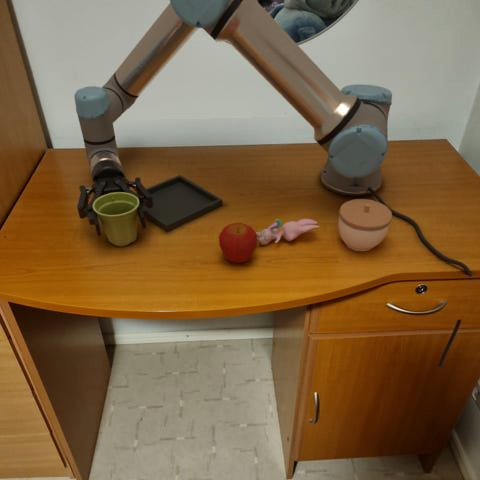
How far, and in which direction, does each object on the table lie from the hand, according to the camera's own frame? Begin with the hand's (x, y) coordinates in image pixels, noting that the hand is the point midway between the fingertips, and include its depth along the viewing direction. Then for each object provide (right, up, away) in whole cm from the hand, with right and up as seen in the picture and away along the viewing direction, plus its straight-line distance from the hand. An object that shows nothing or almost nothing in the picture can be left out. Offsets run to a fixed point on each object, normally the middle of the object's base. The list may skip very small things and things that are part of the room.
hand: (121, 226), depth 98 cm
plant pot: (-1, -1, +8) cm, 8 cm away
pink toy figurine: (+34, -2, +8) cm, 35 cm away
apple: (+24, -6, +3) cm, 25 cm away
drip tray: (+8, +9, +18) cm, 22 cm away
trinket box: (+50, -2, +7) cm, 51 cm away
